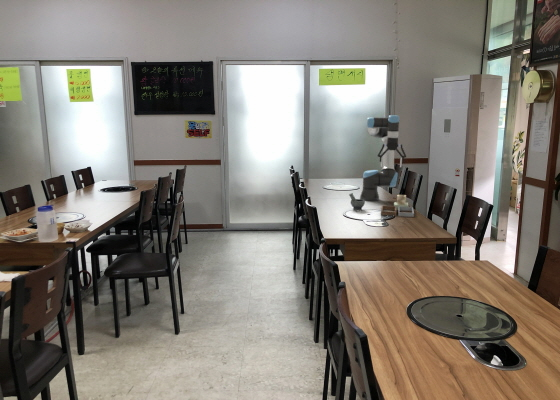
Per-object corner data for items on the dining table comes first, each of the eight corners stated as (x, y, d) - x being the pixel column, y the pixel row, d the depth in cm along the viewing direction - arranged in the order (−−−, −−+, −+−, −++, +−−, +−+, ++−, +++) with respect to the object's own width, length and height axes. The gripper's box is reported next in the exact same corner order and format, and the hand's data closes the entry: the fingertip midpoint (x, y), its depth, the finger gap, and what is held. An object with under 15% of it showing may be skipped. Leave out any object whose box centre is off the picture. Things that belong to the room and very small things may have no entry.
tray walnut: (381, 209, 327) (381, 205, 326) (395, 209, 324) (396, 206, 324) (380, 214, 308) (381, 211, 307) (396, 215, 305) (396, 212, 305)
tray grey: (398, 209, 324) (398, 206, 324) (412, 210, 322) (412, 207, 321) (398, 215, 305) (398, 212, 305) (413, 216, 303) (414, 213, 302)
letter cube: (396, 204, 326) (397, 196, 325) (396, 202, 332) (397, 194, 331) (405, 204, 325) (406, 196, 324) (405, 203, 331) (406, 195, 330)
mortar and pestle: (363, 208, 328) (364, 192, 326) (365, 211, 319) (365, 194, 316) (348, 208, 329) (348, 191, 326) (349, 210, 320) (349, 194, 317)
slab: (393, 206, 335) (394, 202, 335) (407, 207, 333) (408, 202, 332) (393, 209, 326) (394, 204, 325) (408, 210, 323) (408, 205, 323)
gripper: (375, 137, 323) (373, 166, 328) (411, 138, 318) (409, 167, 323) (375, 136, 330) (373, 165, 335) (410, 137, 326) (408, 166, 330)
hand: (391, 166), depth 329 cm, fingers open, 13 cm apart
